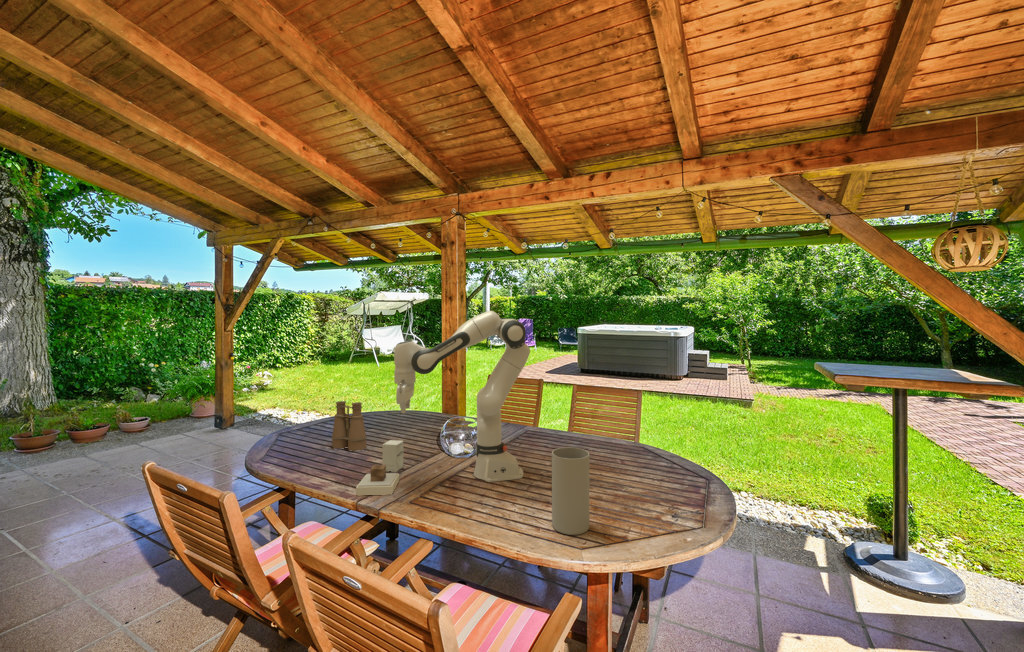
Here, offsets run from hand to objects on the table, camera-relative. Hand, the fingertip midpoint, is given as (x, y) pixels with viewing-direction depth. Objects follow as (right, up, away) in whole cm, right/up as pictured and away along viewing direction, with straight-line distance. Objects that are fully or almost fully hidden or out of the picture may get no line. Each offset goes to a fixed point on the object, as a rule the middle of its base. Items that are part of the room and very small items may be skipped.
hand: (405, 410), depth 182 cm
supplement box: (-10, -31, +16) cm, 36 cm away
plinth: (-9, -31, -7) cm, 33 cm away
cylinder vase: (+66, -31, -40) cm, 83 cm away
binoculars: (-43, -30, +48) cm, 71 cm away
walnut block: (-9, -27, -7) cm, 29 cm away
